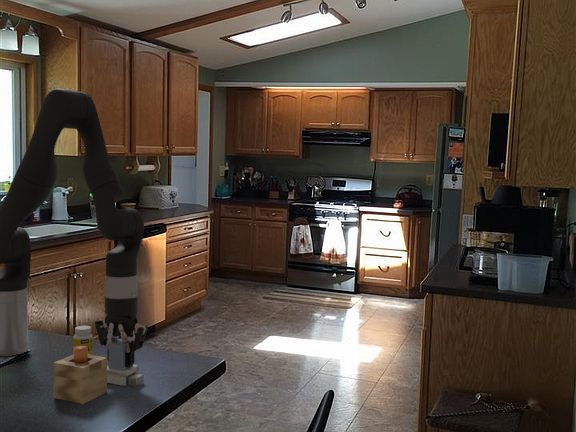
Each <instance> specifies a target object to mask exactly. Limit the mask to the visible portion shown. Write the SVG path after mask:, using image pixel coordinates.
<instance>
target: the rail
mask: <svg viewBox="0 0 576 432" xmlns="http://www.w3.org/2000/svg"><path fill="white" fill-rule="evenodd" d="M144 377H145V376H144V374H142V373H138V374H137V373H132V374H130V375H128V376H126V385H125V386H130V387H135V388H137V387H139V386H140V385H143V384H144V382H145V381H144Z"/></svg>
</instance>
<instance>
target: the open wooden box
mask: <svg viewBox="0 0 576 432" xmlns="http://www.w3.org/2000/svg"><path fill="white" fill-rule="evenodd" d="M107 366H108V360H107V357H106V356H105V357H104V356H100V355H93V354H92V355H90V354H88V361H87V362H84V363H75V362H74V355H73V354H71V355H68V356H66V357H64V358H62V359H59V360H57V361H54V362H53V398H54V399H58V400H63V401H67V402H71V403H76V404H81V405H85V404H87V403H89V402H90V401H92V400H94V399H97V398H98V397H100V396H102V395H104V394H106V393H107V392H108V383H107Z"/></svg>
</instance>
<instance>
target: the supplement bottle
mask: <svg viewBox="0 0 576 432" xmlns="http://www.w3.org/2000/svg"><path fill="white" fill-rule="evenodd" d="M91 333H92V326H90V325H79V326H76V327H75V328H74V335H73V339H72V340H73V342H72V343H73V344H72V345H73V348H72V351H73V354H72V355H74V347H76V346H87V347H88V354H90V355H93V334H91Z"/></svg>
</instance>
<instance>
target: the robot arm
mask: <svg viewBox="0 0 576 432" xmlns="http://www.w3.org/2000/svg"><path fill="white" fill-rule="evenodd" d="M33 129H34V130H33V132H32V135H31V138H30V141H29V143H28V145H27V148H26V151H25V153H24V155H23V158H22V159H21V161H20V163H19V165H18V167H17V169H16V172H15V174H14V177H13V179H12V181H11V183H10V187H9V189H8V191H7V193H6V195H5V197H4V199H3V201H2V203H1V206H0V265H3V268H2V269H1V270H0V357H12V355H14V356H17V355H16V354H19V355H22V354H24V352H25V353H26V352H28V350H29V321H28V320H29V318H28V317H29V316H28V315H29V314H28V313H29V312H28V306H29V304H28V301H29V300H28V297H29V296H28V282H29V278H30V275H31V265H32V264H31V261H32V243H31V238H30V235H29V233H28V232H27V231H26V229H25V228H23V227H21V224H22V223H23V222H24V221H25V220H26V219H28V217H29V216H30V215H32V214H33V213H34V212H35V211H37V210H38V209H39V208H40V207H41V206H42V205H43V204H44V203H45V201H46V200H47V199H48V197H49V195H50V193H51V191H52V190H53V187H54V185H55V183H56V181H57V177H58V165H57V159H56V155H55V148H56V144H57V141H58V139H59V136H60V134H61V133H62V131H63V130H64V129H71V130H76V131H77V132H78V135H80V138H81V140H82V142H83V147H84V156H83V164H82V168H83V169H82V170H83V176H84V180H85V182H86V184H87V187H88V190H89V192H90V194H91V196H92V198H93V203H94V210H95V218H96V225H97V228H98V229H97V230H98V231H99V233H100V235H102V236H103V238H105V239H106V240H108V241H118V243H117V245H116V246H115V248H112V249H110V250H109V251H108V252H107V253H106V256H105V280H104V314H105V317H104V318H101V319H97V320H96V321H94V326H95V329H96V333H97V337H98V341H99V344H100V346H104V347H105V348H106V349H107V351H106V352H107V353H106V355H107V357H106V358H107V362H109V343H111V342H113V341H115V340H118V339H122V342H123V343H124V345H125V349H126V352H125V367H128V368H129V367H131V366H132V365H135V359H136V357H135V354H136V353H135V351H138V350H140V349H142V348H143V346H144V343H145V339H146V337H147V333H148V329H149V327H148V325H142V324H141V323H139V321H138V318H137V314H138V309H139V308H138V306H139V303H138V301H139V299H138V297H139V296H138V295H139V294H138V293H139V292H138V291H139V289H138V288H139V287H138V285H139V282H138V275H137V272H138V271H137V270H138V266H137V265H138V264H137V263H138V262H137V259H138V255H139V252H140V247H141V244H142V239H143V237H144V236H143V235H144V231H145V222H144V218H143V216H142V214H141V212H140V211H139V210H137V208H136V209H135V208H133V207H132V208H131V207H129V208H117V205H116V203H118V202H119V201H121V200H122V198H123V197H124V188H123V186H122V185H121V182H120V179H119V177H118V175H117V173H116V171H115V169H114V166H113V164H112V161H111V159H110V155H109V152H108V150H107V146H106V141H105V137H104V132H103V130H102V126H101V122H100V117H99V114H98V110H97V108H96V105H95V102H94V100H93V98H92V97H91V96H90V95H89V94H88V93H86V92H84V91H80V90H74V89H67V88H53V89H51V90H50V91H49V92H48V93H47V95H46V96H45V97H44V100H43V102H42V104H41V107H40V110H39V114H38V115H37V120H36V123H35V126H34V128H33ZM21 353H22V354H21Z"/></svg>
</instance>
